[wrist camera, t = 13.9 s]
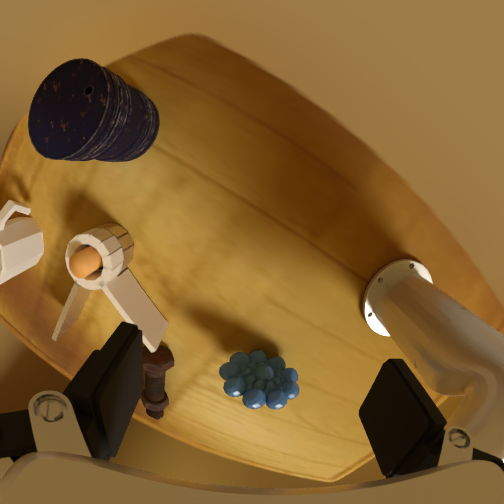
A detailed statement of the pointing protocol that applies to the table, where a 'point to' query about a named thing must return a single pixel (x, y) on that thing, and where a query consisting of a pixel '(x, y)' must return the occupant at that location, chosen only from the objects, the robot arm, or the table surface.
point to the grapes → (259, 380)
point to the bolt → (156, 380)
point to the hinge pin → (85, 262)
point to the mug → (18, 241)
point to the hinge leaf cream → (119, 285)
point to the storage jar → (90, 115)
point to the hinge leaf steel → (81, 294)
